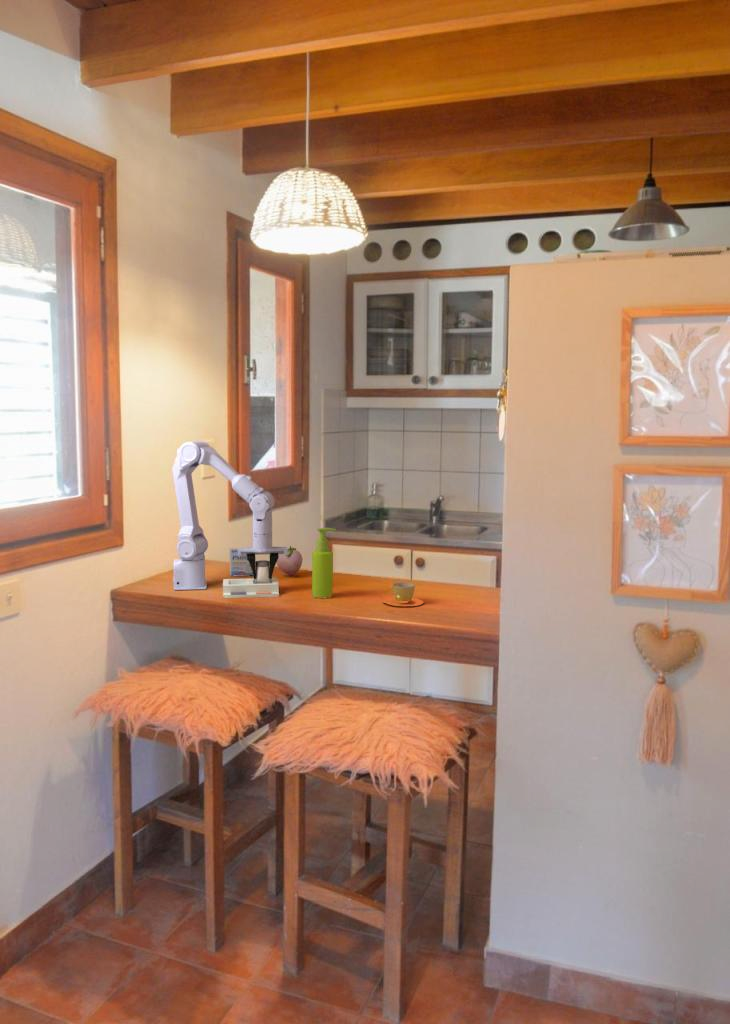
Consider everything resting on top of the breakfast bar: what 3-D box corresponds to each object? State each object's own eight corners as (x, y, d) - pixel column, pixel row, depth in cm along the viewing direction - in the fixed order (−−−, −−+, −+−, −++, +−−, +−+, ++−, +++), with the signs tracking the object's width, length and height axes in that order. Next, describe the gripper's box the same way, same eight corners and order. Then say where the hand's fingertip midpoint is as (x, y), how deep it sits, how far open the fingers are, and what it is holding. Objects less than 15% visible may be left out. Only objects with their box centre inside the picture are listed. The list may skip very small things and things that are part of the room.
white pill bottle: (256, 586, 230) (255, 563, 230) (255, 583, 234) (255, 560, 234) (270, 586, 231) (269, 562, 230) (269, 583, 235) (269, 560, 234)
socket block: (223, 598, 224) (222, 587, 224) (223, 588, 235) (223, 579, 235) (279, 596, 227) (279, 586, 226) (276, 587, 238) (276, 577, 238)
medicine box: (230, 576, 252) (230, 550, 251) (229, 574, 257) (229, 548, 255) (255, 575, 254) (255, 549, 253) (253, 573, 259) (253, 547, 257)
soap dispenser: (337, 598, 226) (338, 529, 223) (313, 598, 224) (314, 530, 222) (333, 593, 232) (334, 526, 229) (310, 594, 230) (311, 526, 228)
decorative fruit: (278, 573, 259) (278, 543, 257) (303, 573, 259) (303, 543, 257) (275, 579, 249) (275, 548, 248) (300, 579, 249) (300, 548, 248)
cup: (425, 609, 216) (425, 589, 215) (381, 608, 216) (382, 589, 215) (423, 598, 228) (423, 580, 227) (382, 597, 228) (382, 579, 227)
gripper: (237, 535, 225) (238, 582, 227) (288, 535, 228) (288, 580, 230) (237, 532, 232) (237, 576, 234) (286, 531, 235) (286, 575, 237)
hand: (262, 578), depth 232 cm, fingers closed on white pill bottle, 4 cm apart
